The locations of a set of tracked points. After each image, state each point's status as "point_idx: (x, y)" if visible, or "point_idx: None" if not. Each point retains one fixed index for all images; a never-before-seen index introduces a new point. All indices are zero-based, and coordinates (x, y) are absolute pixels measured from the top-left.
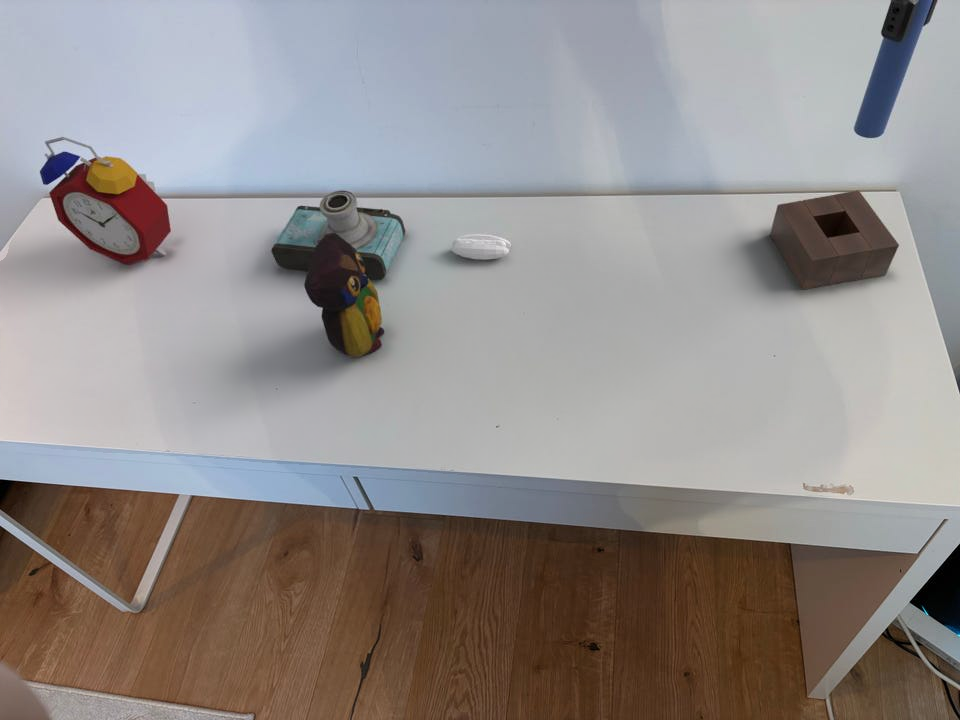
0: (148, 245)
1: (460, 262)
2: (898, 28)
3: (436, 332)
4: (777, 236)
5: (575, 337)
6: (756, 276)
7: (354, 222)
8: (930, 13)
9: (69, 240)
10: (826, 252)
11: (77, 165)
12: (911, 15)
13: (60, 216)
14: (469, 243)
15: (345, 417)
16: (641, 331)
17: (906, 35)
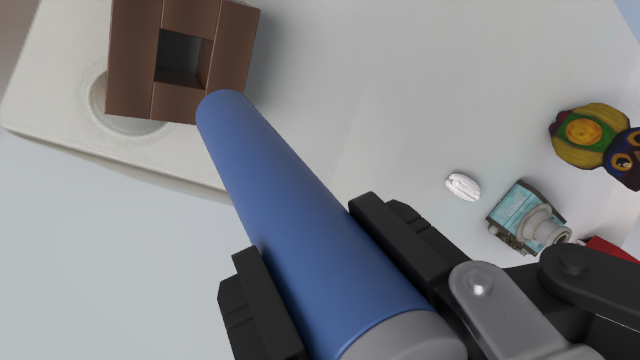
0: (602, 241)
1: (472, 179)
2: (418, 215)
3: (525, 113)
4: None
5: (463, 57)
6: (279, 52)
7: (544, 224)
8: (260, 274)
9: None
10: (233, 13)
11: None
12: (418, 239)
13: None
14: (476, 190)
15: (604, 59)
16: (419, 35)
17: (361, 202)
